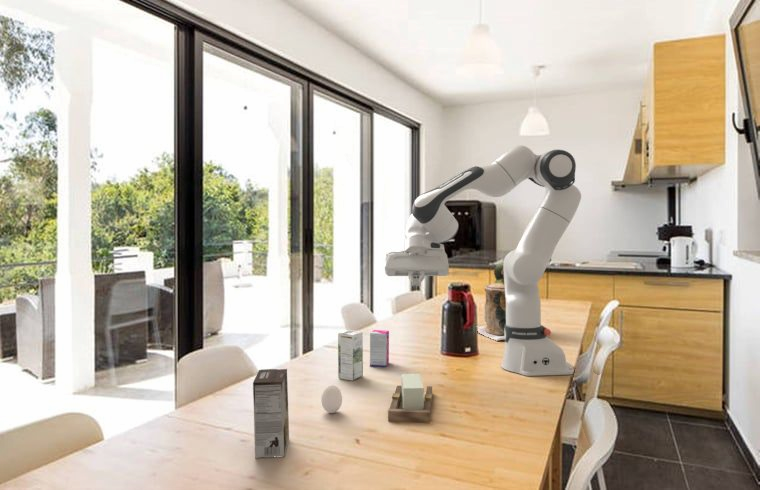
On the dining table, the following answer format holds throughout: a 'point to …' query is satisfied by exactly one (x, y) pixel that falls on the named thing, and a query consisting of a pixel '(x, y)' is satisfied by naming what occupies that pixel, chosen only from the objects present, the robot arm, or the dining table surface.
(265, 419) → the coffee box
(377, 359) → the supplement box
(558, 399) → the dining table surface
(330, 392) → the egg
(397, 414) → the slot track
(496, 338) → the cookie jar
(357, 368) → the syrup box
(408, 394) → the block
